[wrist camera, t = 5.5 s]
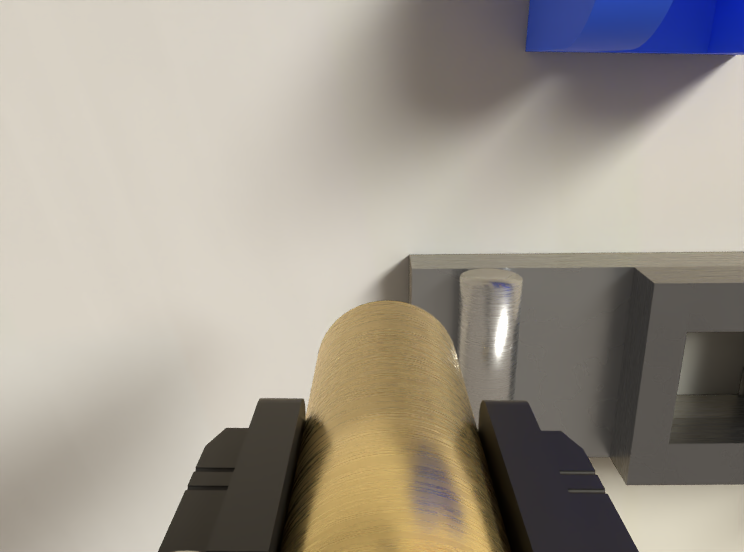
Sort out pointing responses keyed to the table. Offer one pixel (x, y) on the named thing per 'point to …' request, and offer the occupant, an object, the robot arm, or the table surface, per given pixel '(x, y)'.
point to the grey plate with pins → (598, 350)
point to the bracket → (636, 26)
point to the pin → (391, 444)
